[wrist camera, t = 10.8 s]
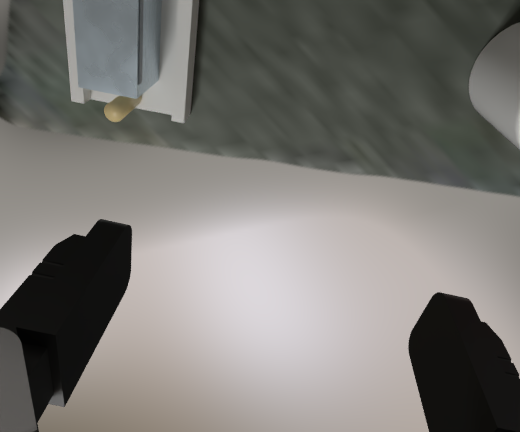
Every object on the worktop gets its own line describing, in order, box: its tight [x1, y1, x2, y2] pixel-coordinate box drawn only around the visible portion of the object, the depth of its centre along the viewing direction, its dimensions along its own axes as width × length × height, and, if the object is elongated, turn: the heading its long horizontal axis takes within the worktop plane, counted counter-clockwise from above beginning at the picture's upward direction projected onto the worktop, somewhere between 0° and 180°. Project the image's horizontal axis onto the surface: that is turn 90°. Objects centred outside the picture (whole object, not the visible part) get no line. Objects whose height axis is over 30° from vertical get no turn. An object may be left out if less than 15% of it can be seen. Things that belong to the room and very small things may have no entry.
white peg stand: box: [63, 0, 199, 123], centre depth 29 cm, size 12×9×5 cm
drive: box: [72, 0, 162, 99], centre depth 28 cm, size 7×4×5 cm, turn 169°
